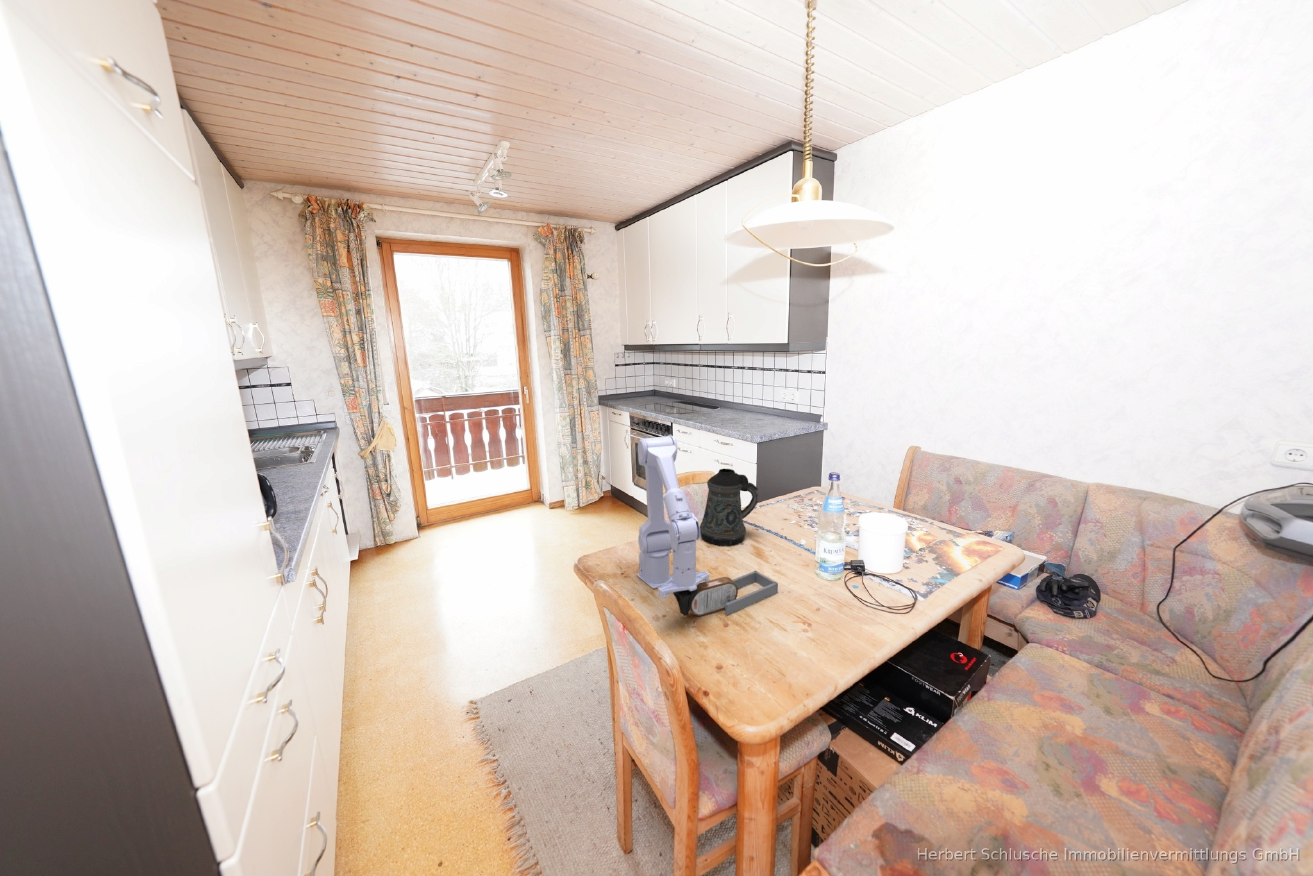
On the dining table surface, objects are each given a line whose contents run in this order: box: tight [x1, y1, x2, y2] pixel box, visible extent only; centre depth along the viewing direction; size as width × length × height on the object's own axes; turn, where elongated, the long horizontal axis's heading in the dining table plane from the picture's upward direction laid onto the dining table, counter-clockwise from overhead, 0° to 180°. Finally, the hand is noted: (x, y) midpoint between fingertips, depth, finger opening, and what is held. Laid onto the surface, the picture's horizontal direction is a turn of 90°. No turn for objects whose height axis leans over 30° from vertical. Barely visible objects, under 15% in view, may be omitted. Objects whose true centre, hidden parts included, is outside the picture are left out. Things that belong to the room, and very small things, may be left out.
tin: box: [689, 576, 739, 617], centre depth 120 cm, size 15×3×8 cm, turn 114°
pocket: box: [724, 570, 779, 616], centre depth 127 cm, size 9×19×3 cm, turn 123°
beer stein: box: [699, 468, 760, 547], centre depth 162 cm, size 16×19×25 cm
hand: (684, 613), depth 116 cm, fingers closed
